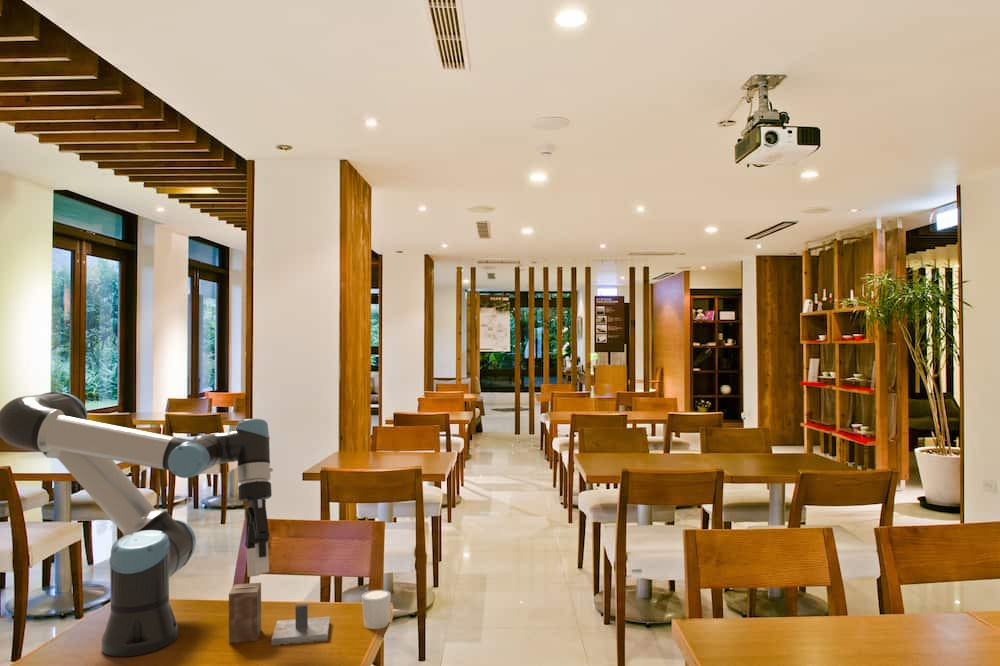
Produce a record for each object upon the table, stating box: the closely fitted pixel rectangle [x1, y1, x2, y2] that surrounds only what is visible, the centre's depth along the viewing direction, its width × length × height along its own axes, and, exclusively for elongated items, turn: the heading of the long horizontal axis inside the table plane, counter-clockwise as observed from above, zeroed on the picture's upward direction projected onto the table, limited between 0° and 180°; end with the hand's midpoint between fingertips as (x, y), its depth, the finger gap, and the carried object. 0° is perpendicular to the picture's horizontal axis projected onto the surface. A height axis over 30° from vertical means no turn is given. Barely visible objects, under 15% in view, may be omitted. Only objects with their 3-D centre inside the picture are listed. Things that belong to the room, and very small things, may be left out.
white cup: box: [361, 589, 392, 630], centre depth 163 cm, size 7×7×7 cm
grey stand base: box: [271, 603, 331, 646], centre depth 158 cm, size 12×10×6 cm
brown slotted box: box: [228, 582, 262, 645], centre depth 157 cm, size 6×6×11 cm
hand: (258, 574), depth 160 cm, fingers open, 13 cm apart
